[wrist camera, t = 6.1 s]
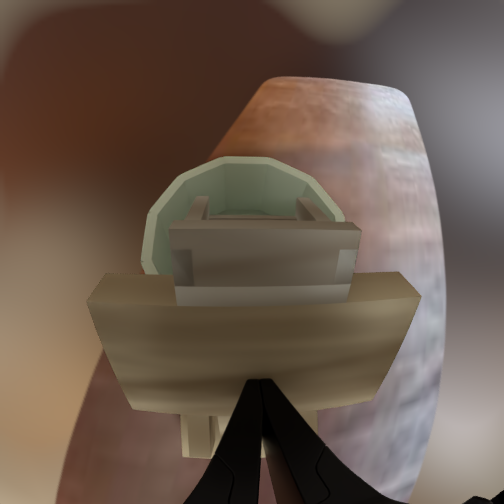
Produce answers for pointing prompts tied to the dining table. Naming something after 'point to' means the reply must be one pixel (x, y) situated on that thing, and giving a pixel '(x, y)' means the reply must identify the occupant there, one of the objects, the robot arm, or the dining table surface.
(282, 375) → the catapult arm
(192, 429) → the stand
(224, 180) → the pale green bowl
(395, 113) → the dining table surface
